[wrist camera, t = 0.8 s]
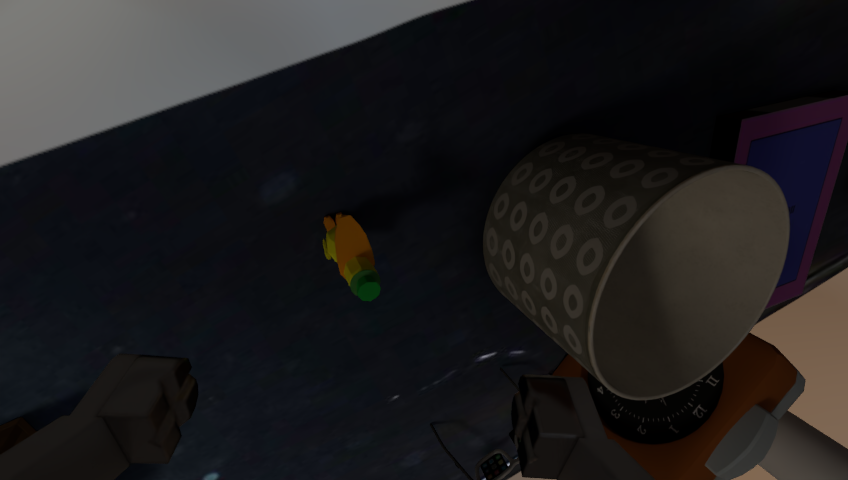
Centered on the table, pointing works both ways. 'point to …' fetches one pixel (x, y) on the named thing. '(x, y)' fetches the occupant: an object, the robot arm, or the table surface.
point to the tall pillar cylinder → (804, 453)
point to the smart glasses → (494, 463)
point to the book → (791, 166)
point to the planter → (637, 256)
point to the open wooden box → (14, 433)
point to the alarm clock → (703, 415)
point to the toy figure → (352, 255)
